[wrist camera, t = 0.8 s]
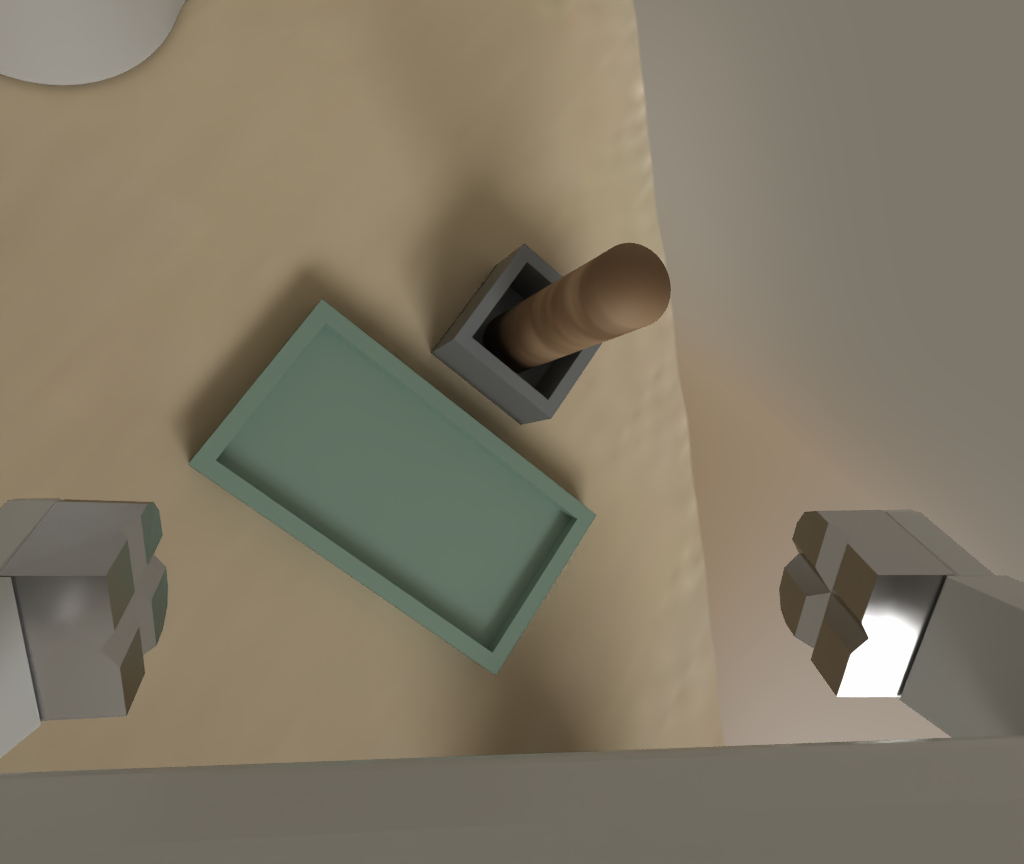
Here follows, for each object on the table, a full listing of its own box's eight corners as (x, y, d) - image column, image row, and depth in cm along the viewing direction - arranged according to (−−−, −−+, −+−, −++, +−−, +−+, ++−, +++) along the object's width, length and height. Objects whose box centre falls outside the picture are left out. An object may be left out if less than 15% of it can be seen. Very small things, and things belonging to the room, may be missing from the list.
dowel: (476, 318, 51) (586, 249, 36) (531, 308, 52) (659, 237, 37) (491, 378, 51) (606, 334, 36) (545, 367, 52) (678, 319, 37)
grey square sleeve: (431, 352, 50) (453, 339, 46) (496, 265, 52) (524, 243, 48) (520, 424, 52) (551, 418, 47) (580, 337, 54) (615, 323, 49)
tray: (189, 464, 45) (188, 464, 43) (317, 306, 48) (322, 298, 46) (485, 668, 50) (495, 675, 48) (583, 514, 53) (596, 515, 51)
